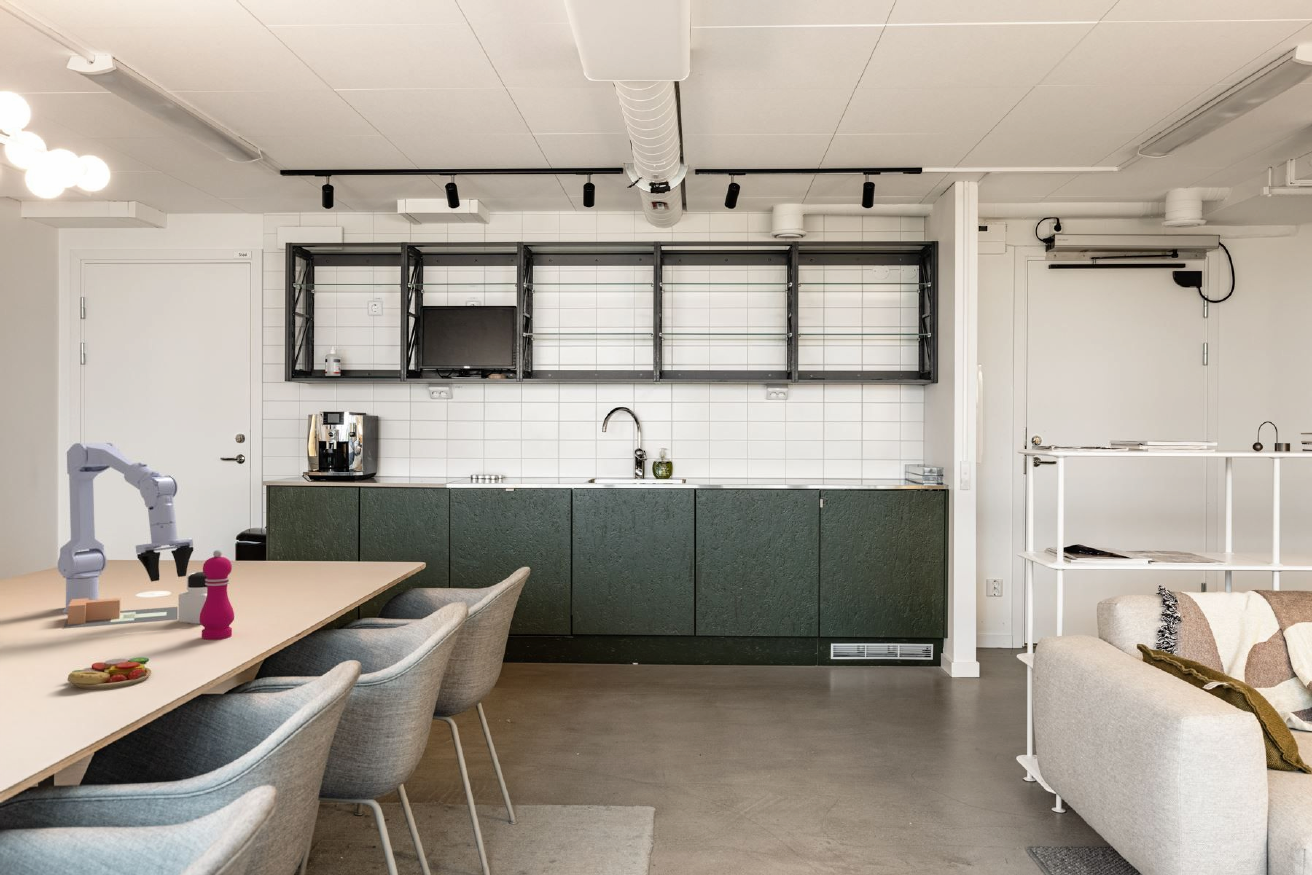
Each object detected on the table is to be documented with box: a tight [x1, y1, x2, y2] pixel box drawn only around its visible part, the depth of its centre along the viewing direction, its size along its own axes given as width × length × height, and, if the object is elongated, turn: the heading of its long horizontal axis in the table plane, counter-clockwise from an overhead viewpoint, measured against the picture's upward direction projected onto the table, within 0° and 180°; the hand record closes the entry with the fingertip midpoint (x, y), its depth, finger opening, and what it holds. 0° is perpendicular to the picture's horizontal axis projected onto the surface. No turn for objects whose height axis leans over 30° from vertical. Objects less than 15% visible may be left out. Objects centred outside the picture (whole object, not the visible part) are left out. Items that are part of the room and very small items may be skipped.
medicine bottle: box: [177, 571, 207, 625], centre depth 222 cm, size 7×7×12 cm
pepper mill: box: [199, 549, 235, 641], centre depth 205 cm, size 7×7×20 cm
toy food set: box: [66, 656, 153, 690], centre depth 169 cm, size 13×13×3 cm
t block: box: [67, 597, 121, 625], centre depth 221 cm, size 10×10×4 cm
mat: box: [61, 606, 179, 630], centre depth 224 cm, size 18×24×1 cm
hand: (168, 578), depth 221 cm, fingers open, 7 cm apart
